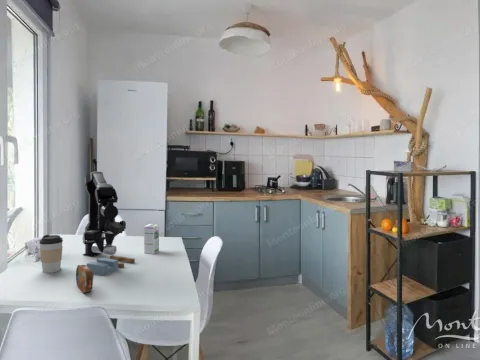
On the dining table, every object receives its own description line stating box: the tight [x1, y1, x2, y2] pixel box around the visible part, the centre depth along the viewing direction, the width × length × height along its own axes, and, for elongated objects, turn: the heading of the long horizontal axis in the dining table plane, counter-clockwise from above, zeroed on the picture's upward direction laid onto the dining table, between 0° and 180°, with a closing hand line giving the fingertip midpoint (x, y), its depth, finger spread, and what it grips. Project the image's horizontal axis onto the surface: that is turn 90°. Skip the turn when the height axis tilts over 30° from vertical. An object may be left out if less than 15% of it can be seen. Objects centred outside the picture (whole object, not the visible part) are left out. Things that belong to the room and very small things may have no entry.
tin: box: [75, 264, 94, 294], centre depth 129 cm, size 15×3×8 cm, turn 38°
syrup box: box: [143, 223, 160, 255], centre depth 179 cm, size 6×6×14 cm
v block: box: [86, 257, 119, 276], centre depth 149 cm, size 9×9×4 cm
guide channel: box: [109, 254, 136, 269], centre depth 160 cm, size 13×9×2 cm
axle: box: [92, 243, 118, 256], centre depth 149 cm, size 10×4×4 cm, turn 70°
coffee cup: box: [38, 234, 64, 273], centre depth 148 cm, size 9×9×15 cm
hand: (105, 250), depth 148 cm, fingers closed on axle, 4 cm apart
